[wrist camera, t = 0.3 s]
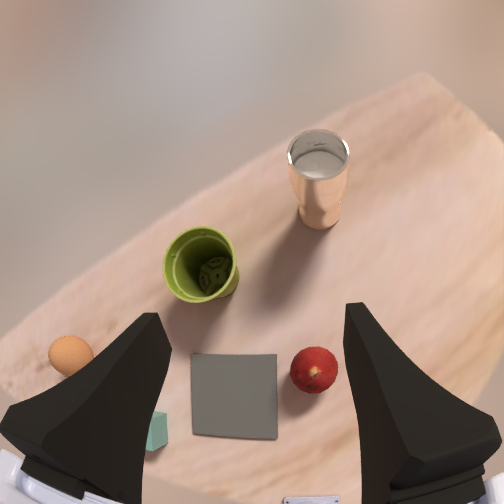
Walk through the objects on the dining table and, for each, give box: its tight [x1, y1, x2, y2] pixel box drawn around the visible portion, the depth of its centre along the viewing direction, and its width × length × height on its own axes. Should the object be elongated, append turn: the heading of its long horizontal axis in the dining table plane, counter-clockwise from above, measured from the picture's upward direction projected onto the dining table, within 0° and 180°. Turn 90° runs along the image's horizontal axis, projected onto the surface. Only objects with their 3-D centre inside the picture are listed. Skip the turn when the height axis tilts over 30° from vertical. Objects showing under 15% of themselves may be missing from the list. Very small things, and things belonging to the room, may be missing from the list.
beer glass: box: [287, 129, 350, 230], centre depth 38 cm, size 7×7×15 cm
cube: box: [146, 411, 168, 451], centre depth 38 cm, size 5×5×5 cm
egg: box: [48, 336, 93, 376], centre depth 42 cm, size 7×7×9 cm
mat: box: [191, 354, 278, 439], centre depth 39 cm, size 12×12×1 cm
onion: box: [290, 347, 338, 394], centre depth 35 cm, size 6×6×8 cm
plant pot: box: [162, 226, 239, 303], centre depth 41 cm, size 9×9×9 cm
